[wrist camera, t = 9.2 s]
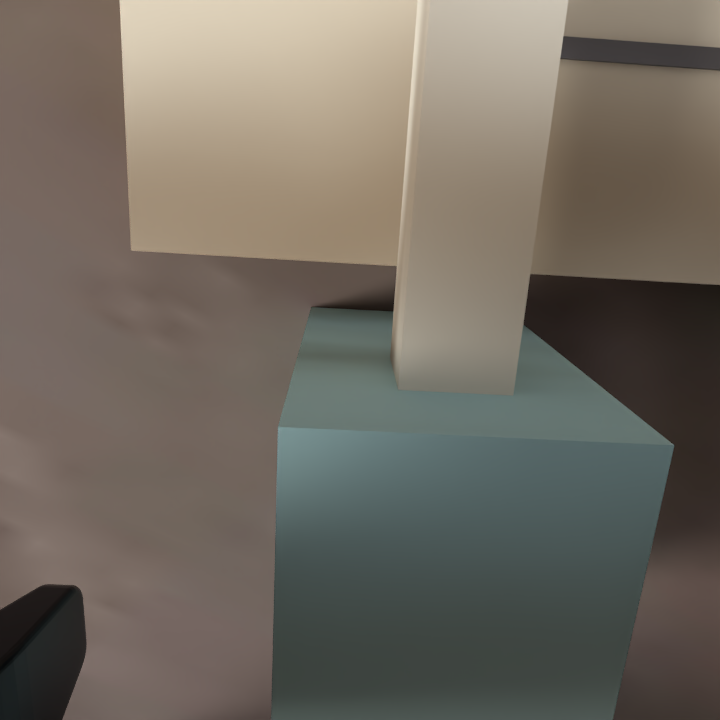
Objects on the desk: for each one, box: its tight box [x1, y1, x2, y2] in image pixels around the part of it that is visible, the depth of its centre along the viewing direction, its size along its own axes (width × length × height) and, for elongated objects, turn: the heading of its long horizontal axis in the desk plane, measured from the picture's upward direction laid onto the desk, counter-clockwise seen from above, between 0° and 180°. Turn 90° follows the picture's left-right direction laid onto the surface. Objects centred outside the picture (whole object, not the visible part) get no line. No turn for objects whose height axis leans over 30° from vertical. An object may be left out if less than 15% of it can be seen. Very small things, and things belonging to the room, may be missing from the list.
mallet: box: [271, 0, 674, 720], centre depth 9 cm, size 11×4×6 cm, turn 177°
